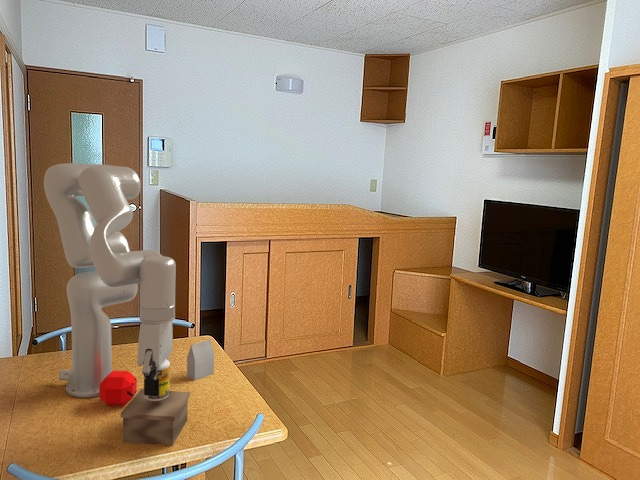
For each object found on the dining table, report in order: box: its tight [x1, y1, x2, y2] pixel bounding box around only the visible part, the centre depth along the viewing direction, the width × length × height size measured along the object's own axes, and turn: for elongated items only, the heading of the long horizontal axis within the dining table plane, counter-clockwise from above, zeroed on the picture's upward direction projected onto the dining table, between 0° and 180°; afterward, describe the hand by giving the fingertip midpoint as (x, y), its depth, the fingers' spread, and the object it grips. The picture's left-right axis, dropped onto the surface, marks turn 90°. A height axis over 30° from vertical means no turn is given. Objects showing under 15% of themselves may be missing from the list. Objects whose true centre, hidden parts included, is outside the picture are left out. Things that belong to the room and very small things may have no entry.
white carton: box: [186, 339, 215, 381], centre depth 145 cm, size 4×7×10 cm, turn 141°
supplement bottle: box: [144, 359, 171, 401], centre depth 114 cm, size 6×6×10 cm
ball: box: [98, 370, 138, 407], centre depth 127 cm, size 8×8×8 cm
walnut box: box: [120, 388, 191, 446], centre depth 115 cm, size 12×12×7 cm
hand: (156, 388), depth 114 cm, fingers closed on supplement bottle, 5 cm apart
